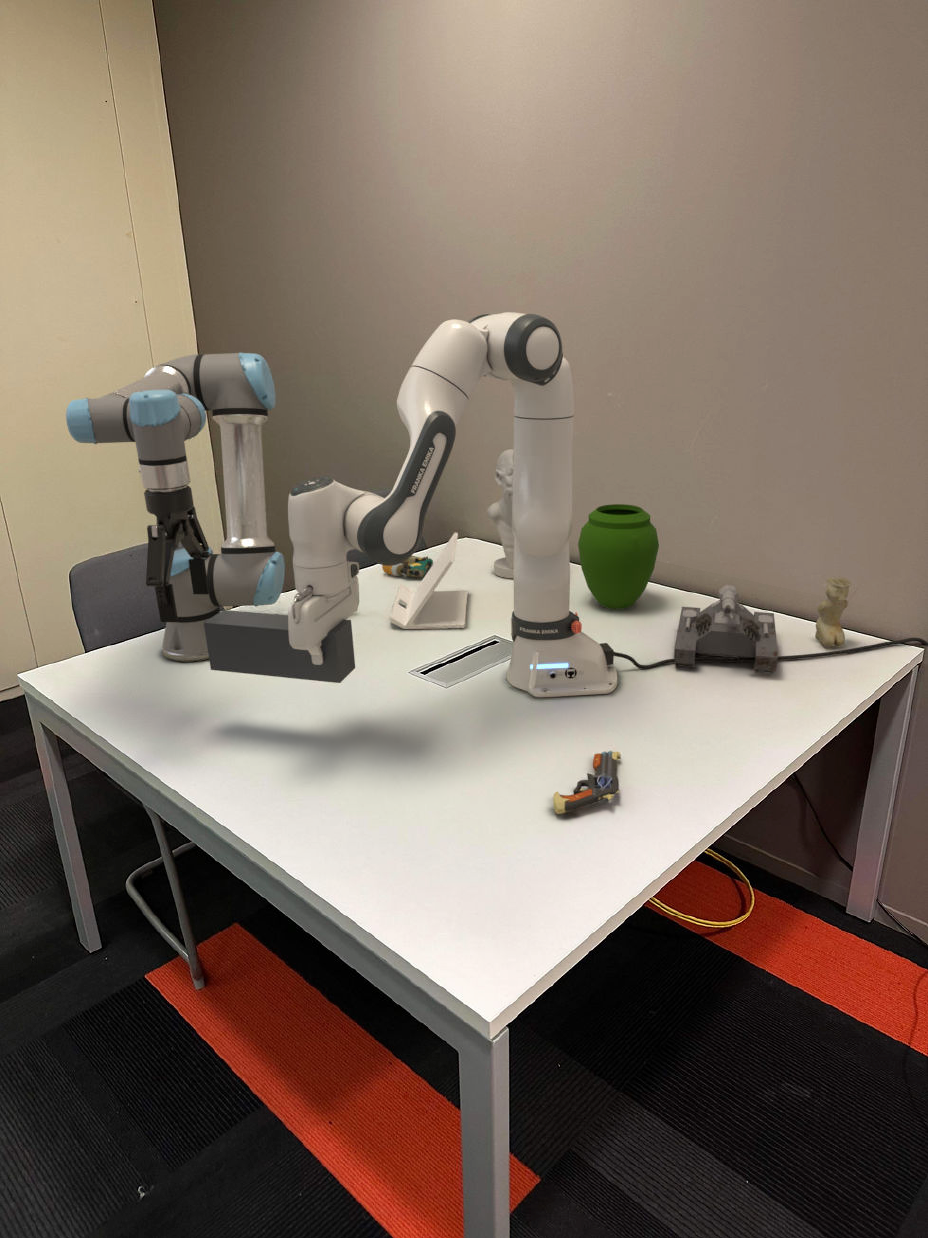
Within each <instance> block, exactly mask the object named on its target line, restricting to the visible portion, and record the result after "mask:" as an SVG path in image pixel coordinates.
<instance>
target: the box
mask: <svg viewBox="0 0 928 1238" xmlns="http://www.w3.org/2000/svg"><path fill="white" fill-rule="evenodd" d="M204 629H205V635H206V642H207V648H208V655H209V659H208V661H209V667H210V670H211V671H217V672H218V671H219V672H228V673H237V674H246V675H247V674H248V675H257V676H265V677H266V676H267V677H277V678H286V679H296V680H305V681H314V682H324V683H333V684H341V683H342V682H343V681H344V680H345V679H347V677H348V676H349V675H350V674H352V672H353V671H354V670H355V669H356V659H355V649H354V638H353V626H352V620H351V619H346V620H343V621H341V622H340V623H339V624H338V625H337V626H335V627H334V628H333V629H332V630H331V631H330V632H328V635H327V636H326V637H325V638H324V639H323V640H322V641H321V646H320V648H321V651H322V652H325V661H324V662H323V663H322V664H321V665H315V664H313V663H312V657H311V654H310V652H309V651H308V650H300V649H294V648H292V646H291V645H290V643H289V631H288V614H279V613H265V612H253V611H242V610H228V609H223V610H220V613H218V614H216V615H215V616H213V617H212V618H210V619H209V620H207V621H205V622H204Z"/></svg>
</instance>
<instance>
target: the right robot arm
mask: <svg viewBox="0 0 928 1238" xmlns="http://www.w3.org/2000/svg"><path fill="white" fill-rule="evenodd" d="M571 369H572V368H571V365H570V362H569V361H568V359H566V358H565V356H564V354H563V343H562V337H561V335H560V332H559V330H558V328H557V326H556V324H555V323H553V321H552V320H550V319H548V318H547V317H544V316H543V315H539V314H536V313H521V312H513V311H511V312H510V311H506V312H505V311H504V312H502V313H494V314H487V313H485V314H480V315H478V316H475V317H473V318H470V319H469V320H467V321H466V320H462V319H455V318H454V319H448V320H446V321H443V322H442V323H440V324H439V326H438V327H437V328H436V329H435V330H434V332H432V334H431V335H430V336H429V338H428V340H427V341H426V342H425V343H424V345H423V346H422V348H420V351H419V352H418V354H417V355H416V357H415V359H414V360H413V362H412V364H411V365H410V368H409V369H408V371H407V373H406V375H405V376H404V379H403V381H402V383H401V385H400V388H399V391H398V395H397V398H396V408H397V413H398V416H399V418H400V420H401V422H402V424H403V425H404V426H405V428H406V430H407V431H408V434H409V440H410V441H409V449H408V453H407V455H406V458H405V460H404V461H403V464H402V467H401V468H400V471H399V474H398V476H397V478H396V481H395V483H394V485H393V488H392V489H391V491H390V493H389V494H388V495H387V496H385V497H383V496H381V495H379V494H376V493H374V492H370V491H366V490H361V489H356V488H354V487H353V488H352V487H349V486H347V485H344V484H342V483H340V482H338V481H336V480H335V479H334V478H332V477H329V476H320V477H312V478H308V479H305V480H302V481H300V482H299V483H297V484H296V485H294V486H293V487H292V488H291V490H290V492H289V494H288V500H287V518H288V520H287V521H288V522H287V523H288V533H289V539H290V541H291V544H292V548H293V555H292V569H293V577H294V586H295V591H296V592H297V593H296V594H295V595H294V596H293V597H294V599H293V602H292V603H290V605H289V608H288V613H287V615H288V631H289V643H290V645H291V646H292V648H294V649H300V650H308V651H309V652H310V654H311V657H312V663H313V664H315V665H321V664H322V663H323V662H324V661H325V652H322V651H321V648H320V646H321V641H322V640H323V639H324V638H325V637H326V636H327V635H328V632H330V631H331V630H332V629H333V628H334V627H335V626H337V625H338V624H339V623H340V622H341V621H343V620H349V618H350V617H352V616H353V615H354V614H355V613H356V612H357V611H358V609H359V606H360V586H359V585H360V582H359V577H358V575H359V573H360V564H359V562H358V561H350V560H348V558H347V554H348V552H350V551H352V550H357V551H359V552H360V553H363V554H364V555H366V556H367V557H368V558H369V559H370V560H371V561H373V562H374V563H376V564H378V565H381V566H383V565H385V566H393V565H397V564H400V563H402V562H404V561H406V560H407V559H409V558H410V557H411V556H414V554H415V553H416V551H417V549H418V548H419V547H420V544H421V542H422V541H421V540H422V538H423V531H424V526H425V519H426V516H427V515H426V514H427V511H428V509H429V506H430V503H431V502H432V499H433V496H434V494H435V491H436V489H437V487H438V485H439V482H440V480H441V477H442V475H443V472H444V471H445V469H446V465H447V463H448V461H449V458H450V455H451V453H452V450H453V447H454V444H455V440H456V435H457V427H458V424H459V421H460V418H461V417H462V414H463V412H464V410H465V408H466V406H467V404H468V402H469V400H470V398H471V397H472V394H473V393H474V390H475V388H476V385H477V384H478V383H479V381H480V380H481V379H482V378H483V377H488V378H490V379H495V380H501V381H510V383H511V386H512V388H513V392H514V401H513V449H514V456H513V498H512V531H513V535H514V574H513V576H514V578H513V611H512V612H511V618H510V635H511V640H512V645H511V646H512V647H511V655H510V660H509V665H508V669H507V672H506V675H505V678H506V681H507V683H509V684H510V685H511V686H513V687H515V688H517V689H519V690H522V691H525V692H527V693H529V694H530V695H531V696H533V697H535V698H556V697H572V696H573V697H574V696H588V695H589V696H590V695H591V696H592V695H607V694H611V693H612V692H613V691H615V690H616V688H617V686H618V673H617V670H616V668H615V667H614V666H613V665H614V659H615V658H614V657H618V658H622V659H625V660H627V661H630V662H631V664H632V665H634V666H635V667H636V668H637V669H640V670H649V669H654V668H657V667H660V666H662V665H667V664H673V663H675V661H674V658H668V659H664V660H661V661H658V662H654V663H652V664H640V663H639V662H637V660H636V659H635V658H634V657H632V656H631V655H628V654H626V653H622V652H616V651H615V650H614V649H613V648H612V647H611V646H610V644H609V643H608V642H601V643H599V642H598V641H596V640H595V639H593V638H591V637H590V636H589V635H587V634H586V633H585V632H583V631H582V630H583V626H582V625H583V624H582V622H581V621H580V616H579V615H578V612H577V611H575V613H574V612H573V611H571V610H570V590H571V589H570V586H571V585H570V584H571V556H570V555H571V553H570V552H571V550H570V549H571V547H570V545H571V543H570V541H571V537H570V536H571V533H572V529H573V528H572V527H573V479H574V478H573V474H574V472H573V471H574V469H573V467H574V466H573V464H574V431H575V429H574V428H575V393H574V392H575V391H574V382H573V376H572V370H571ZM910 642H918V643H921V644H922V645H924V646H928V641H926V640H925V639H923V638H921V637H908V638H903V639H897V640H891V641H884V642H883V641H882V642H879V643H874V644H870V645H865V646H858V647H853V648H847V649H839V650H833V651H825V652H816V653H806V654H794V655H778V660H777V661H787V660H788V661H789V660H800V659H801V660H802V659H811V658H812V659H813V658H820V657H822V658H823V657H829V656H837V655H843V654H848V653H849V654H850V653H855V652H862V651H866V650H872V649H878V648H881V647H887V646H895V645H901V644H906V643H910ZM719 662H721V663H727V662H729V663H731V662H754V657H752V658H737V657H695V663H719Z"/></svg>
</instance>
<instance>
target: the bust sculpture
mask: <svg viewBox="0 0 928 1238" xmlns="http://www.w3.org/2000/svg"><path fill="white" fill-rule="evenodd" d="M513 456H514V448H512V449H506V450H504V451H502V452H501V454H500V455H499V457H498V459H497V461H496V468H495V471H494V480H495V482H496V484H497V486H498V487H501V488H502V494H501V497H500V499H499V501H496V502H494V503H492V504H491V505H490V506H488V508H487V509H486V513H485V514H486V517H487V518H488V519H489V520H490V522H491V523H492V524H493V526H494V527H495V529H496V532H497V534H498V537H499V540H500V542H501V546H502V548H503V553H504V557H502V558H498V559H496V560H495V561H494V562H493V573H494V574H495V575H496V576H497V577H500V578H506V579H514V576H513V574H514V535H513V531H512V498H513Z"/></svg>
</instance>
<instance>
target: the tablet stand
mask: <svg viewBox="0 0 928 1238" xmlns="http://www.w3.org/2000/svg"><path fill="white" fill-rule="evenodd" d="M458 537H459V533H458V532H456V531H455V532H453V534H452V535H451V537H450V539H449V540H448V542H447V543H446V544H445V546H444V548H443V549H442V551H441V552H440V554H439V555H438V556H437V558H436V559H435V561H433V564H432V565H431V566H430V567H429V569H428V571H427V572H426V573H425V575H424V576H423V579H422V580H421V581H420V583H419V584H418V585H417V587H416V589H415V590H412V589H410V588H409V587H407V586H406V585H403V584H400V585H399V586H398V589H397V591H396V595H395V598H394V601H393V604H392V607H391V610H390V612H389V613H390V614H389V617H388V621H389V622H391V623H392V624H394V625H396V626H398V627H399V628H401V629H402V630H426V629H427V630H429V629H430V630H431V629H435V630H436V629H437V630H438V629H464V628H465V627H466V618H467V617H466V616H467V605H468V591H467V590H436V589H437V587H438V585H440V582H441V581H442V580H443V578H444V577H445V575H446V574H447V573H448V571H449V570H450V569H451V567H452V566H453V564H454V562H455V558H456V553H457V545H458ZM399 603H400V604H399ZM402 605H403V606H405V607H403V606H402Z"/></svg>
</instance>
